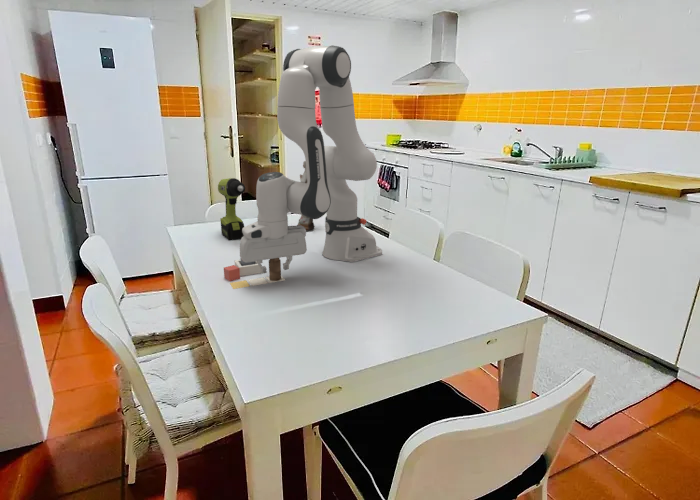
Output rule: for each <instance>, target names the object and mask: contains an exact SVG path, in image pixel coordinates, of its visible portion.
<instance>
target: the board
mask: <svg viewBox="0 0 700 500" xmlns="http://www.w3.org/2000/svg"><path fill="white" fill-rule="evenodd" d="M277 282H286V279H285V278H284V276H282V275H281V279H280V280H278V281H272V280H270V279H269V276H265V277H258V278H251V279H247V280H246V279H245V280H239V281H234V282H233V281H231V282H229V285H231V288H232V289H233V290H236V289H237V290H238V289H242V288H248V287H253V286H254V287H255V286H259V285H267V284H271V283H277Z"/></svg>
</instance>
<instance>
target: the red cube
mask: <svg viewBox="0 0 700 500" xmlns="http://www.w3.org/2000/svg"><path fill="white" fill-rule="evenodd" d="M223 278H224V279H226V280H227V281H228V282H233V281H236V280H241V276H240V271H239V268H238V267H236V266H235V264H233V265H228V266H225V267H223Z"/></svg>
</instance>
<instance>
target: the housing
mask: <svg viewBox="0 0 700 500" xmlns="http://www.w3.org/2000/svg"><path fill="white" fill-rule="evenodd" d="M233 262H234V265H235V266H236V267H238V268H239V271H240V277H245V276H250V275H256V274H262V273H261V271H260V266H259V265H258V264H257V262H256V261H255V264H253V265H246V266H241V260H240V259H237V260H234V261H233Z"/></svg>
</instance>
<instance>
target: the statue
mask: <svg viewBox="0 0 700 500" xmlns="http://www.w3.org/2000/svg"><path fill="white" fill-rule="evenodd" d="M302 168H303V169H304V172H303V173H302V174H299V178H300V179H299V180H300V181H299V182H301V183H307V172H306V160H304V161H303V163H302ZM297 225H301V226H303V227H305V229H306V232H307V231H311V230H314V229H315V224H314V219H311V218H309V217H306V216H304V215H300V217H299V219H298V222H297Z"/></svg>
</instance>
